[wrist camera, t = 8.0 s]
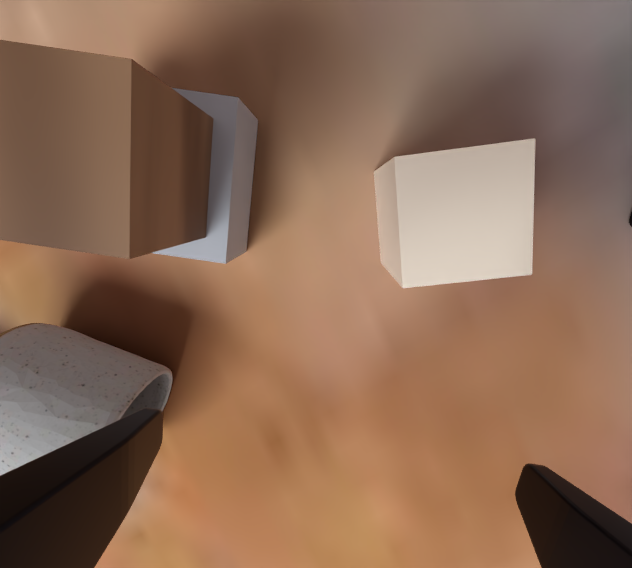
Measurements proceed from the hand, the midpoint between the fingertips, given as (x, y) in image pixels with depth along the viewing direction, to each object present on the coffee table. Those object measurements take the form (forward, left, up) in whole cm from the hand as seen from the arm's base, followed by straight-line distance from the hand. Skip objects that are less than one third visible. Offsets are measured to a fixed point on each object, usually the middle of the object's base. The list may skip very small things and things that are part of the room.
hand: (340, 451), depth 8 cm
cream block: (-4, -6, -12) cm, 14 cm away
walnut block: (+9, -6, -8) cm, 13 cm away
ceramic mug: (+14, +8, -12) cm, 20 cm away
